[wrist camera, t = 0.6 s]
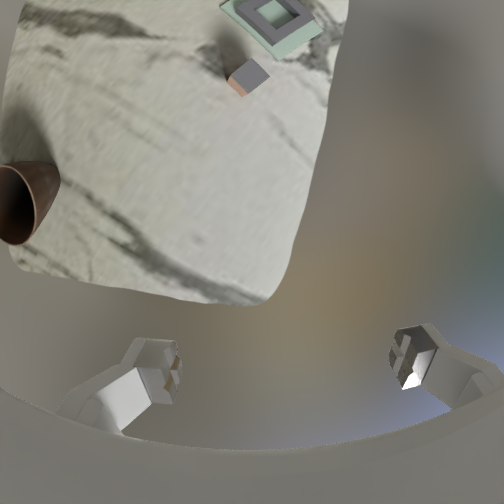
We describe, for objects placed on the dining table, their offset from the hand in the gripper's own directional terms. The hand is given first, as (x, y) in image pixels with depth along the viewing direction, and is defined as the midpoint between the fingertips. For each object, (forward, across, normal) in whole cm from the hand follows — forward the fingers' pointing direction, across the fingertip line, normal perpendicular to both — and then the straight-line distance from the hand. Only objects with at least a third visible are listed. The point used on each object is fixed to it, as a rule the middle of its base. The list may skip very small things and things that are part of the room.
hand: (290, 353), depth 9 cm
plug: (+43, +3, -21) cm, 48 cm away
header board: (+41, -3, -35) cm, 54 cm away
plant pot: (+39, +45, -7) cm, 60 cm away
